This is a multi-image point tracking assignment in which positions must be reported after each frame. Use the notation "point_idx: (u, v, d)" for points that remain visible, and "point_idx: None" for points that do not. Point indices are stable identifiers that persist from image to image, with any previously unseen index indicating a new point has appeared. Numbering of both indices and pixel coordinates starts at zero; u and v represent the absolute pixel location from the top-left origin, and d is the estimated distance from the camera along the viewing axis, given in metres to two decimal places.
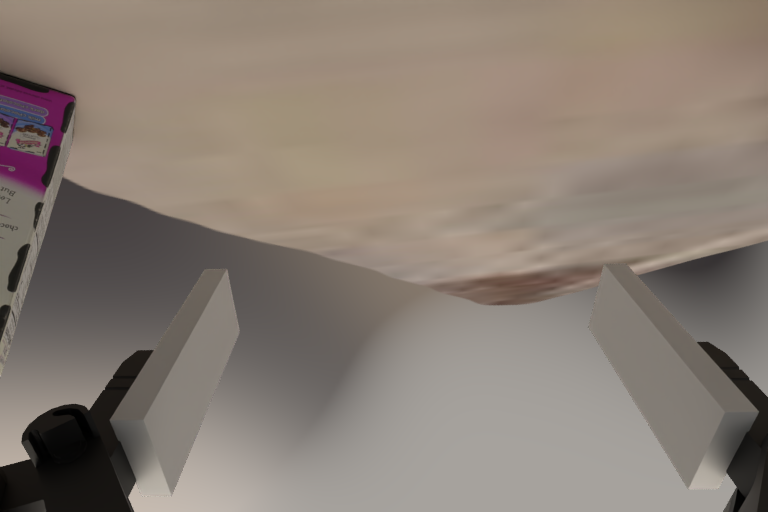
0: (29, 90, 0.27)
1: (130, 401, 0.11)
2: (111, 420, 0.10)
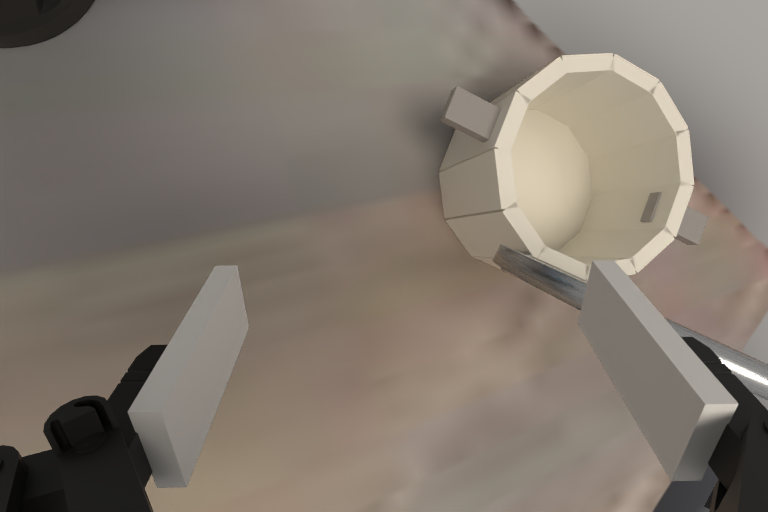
0: None
1: (147, 393, 0.11)
2: (129, 411, 0.11)
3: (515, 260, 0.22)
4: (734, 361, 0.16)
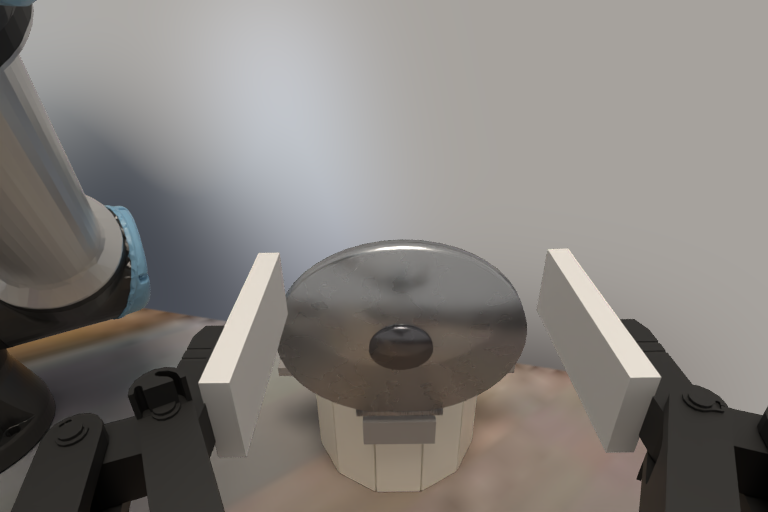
0: None
1: (213, 367, 0.12)
2: (199, 383, 0.11)
3: None
4: (341, 254, 0.28)
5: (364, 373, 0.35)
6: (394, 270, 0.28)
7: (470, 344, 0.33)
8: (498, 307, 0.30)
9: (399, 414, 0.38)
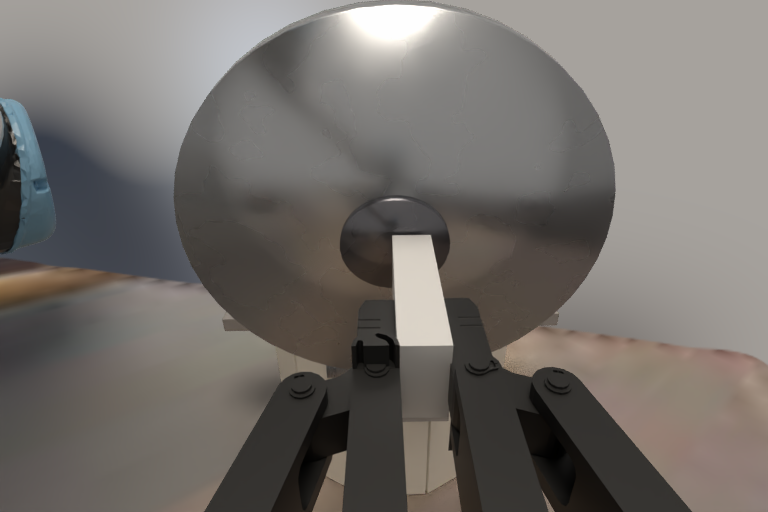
0: None
1: (404, 333, 0.13)
2: None
3: None
4: (278, 32, 0.15)
5: (335, 298, 0.21)
6: (379, 61, 0.15)
7: (512, 239, 0.19)
8: (569, 155, 0.17)
9: None
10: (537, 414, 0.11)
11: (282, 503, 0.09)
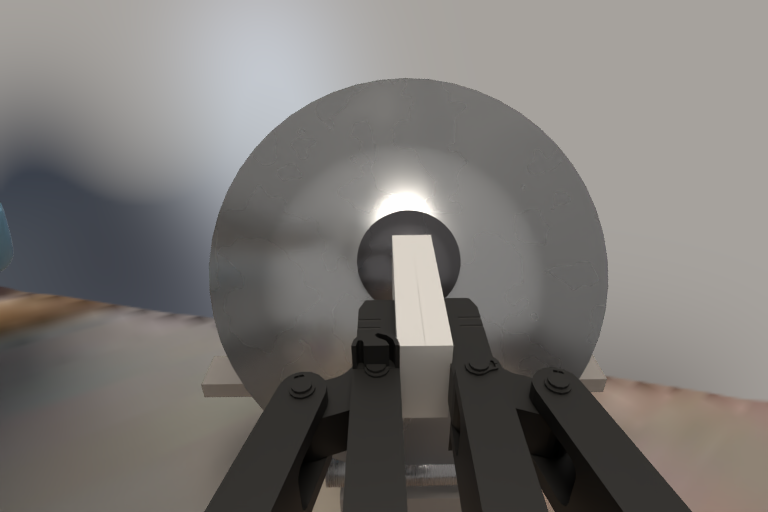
0: None
1: (404, 332, 0.13)
2: None
3: None
4: None
5: (346, 336, 0.20)
6: (394, 109, 0.22)
7: (519, 260, 0.20)
8: (546, 177, 0.21)
9: (413, 473, 0.19)
10: (537, 414, 0.11)
11: (282, 503, 0.09)
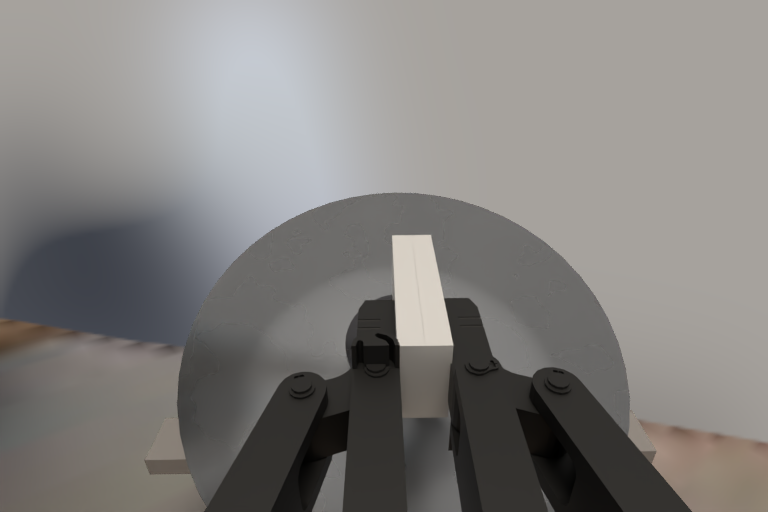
0: None
1: (404, 333, 0.13)
2: None
3: None
4: None
5: None
6: (386, 215, 0.23)
7: (522, 343, 0.19)
8: (537, 267, 0.21)
9: None
10: (537, 414, 0.11)
11: (282, 503, 0.09)
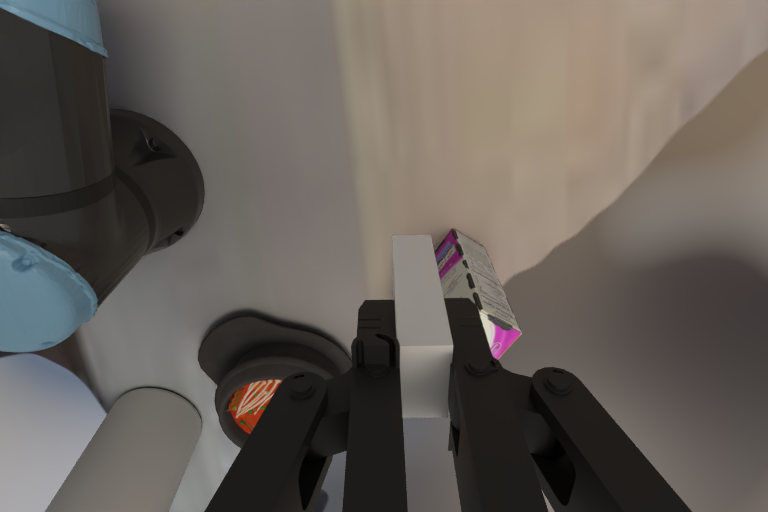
0: (442, 244, 0.54)
1: (404, 333, 0.13)
2: None
3: None
4: None
5: None
6: None
7: None
8: None
9: None
10: (537, 414, 0.11)
11: (282, 503, 0.09)
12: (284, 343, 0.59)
